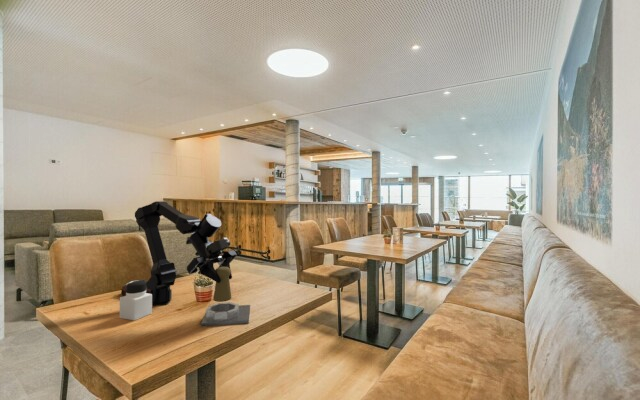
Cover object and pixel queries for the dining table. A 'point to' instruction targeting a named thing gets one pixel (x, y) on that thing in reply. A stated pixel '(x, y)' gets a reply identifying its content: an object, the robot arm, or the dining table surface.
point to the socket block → (226, 314)
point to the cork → (222, 285)
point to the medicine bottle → (135, 301)
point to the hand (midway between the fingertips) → (225, 280)
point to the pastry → (123, 290)
